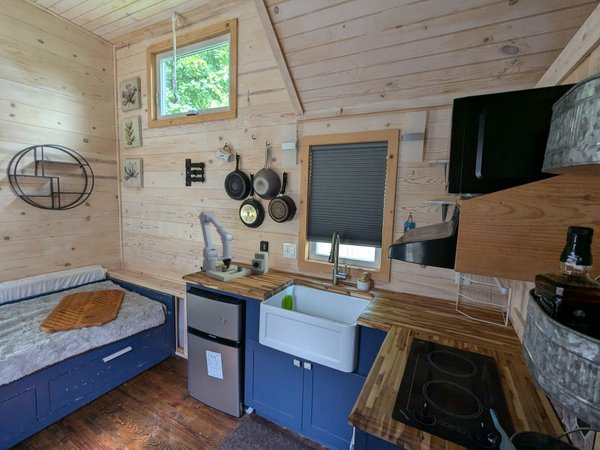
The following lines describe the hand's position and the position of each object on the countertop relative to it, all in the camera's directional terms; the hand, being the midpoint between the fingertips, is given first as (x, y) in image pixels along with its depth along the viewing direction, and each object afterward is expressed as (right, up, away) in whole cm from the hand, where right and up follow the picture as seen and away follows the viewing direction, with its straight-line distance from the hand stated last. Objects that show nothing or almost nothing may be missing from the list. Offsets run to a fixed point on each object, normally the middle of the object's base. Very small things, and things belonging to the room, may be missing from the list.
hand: (226, 269), depth 204 cm
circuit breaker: (+23, -5, +7) cm, 24 cm away
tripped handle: (-1, -1, -2) cm, 3 cm away
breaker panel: (+1, -4, +2) cm, 5 cm away
